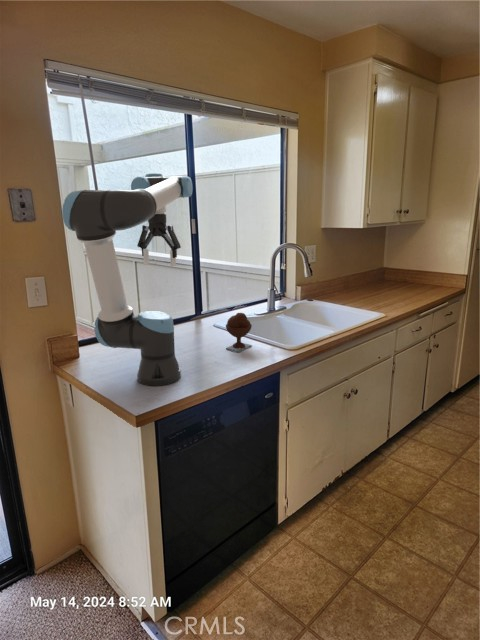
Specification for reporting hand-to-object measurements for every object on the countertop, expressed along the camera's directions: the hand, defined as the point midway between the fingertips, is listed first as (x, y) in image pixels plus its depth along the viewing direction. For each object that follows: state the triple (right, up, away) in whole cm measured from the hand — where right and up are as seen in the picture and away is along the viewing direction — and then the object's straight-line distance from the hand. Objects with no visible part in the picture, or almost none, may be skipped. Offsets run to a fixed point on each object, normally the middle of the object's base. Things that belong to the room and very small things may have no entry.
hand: (159, 264), depth 174 cm
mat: (+34, -35, +2) cm, 49 cm away
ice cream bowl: (+34, -35, +2) cm, 48 cm away
